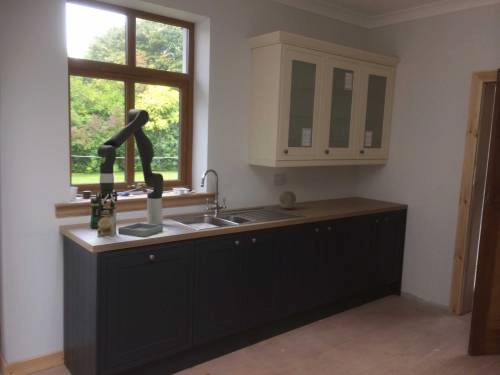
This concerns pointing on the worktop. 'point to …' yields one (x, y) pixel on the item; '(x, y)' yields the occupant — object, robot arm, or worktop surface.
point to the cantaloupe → (287, 199)
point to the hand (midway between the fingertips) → (106, 210)
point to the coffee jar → (95, 212)
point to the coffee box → (107, 222)
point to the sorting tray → (140, 229)
